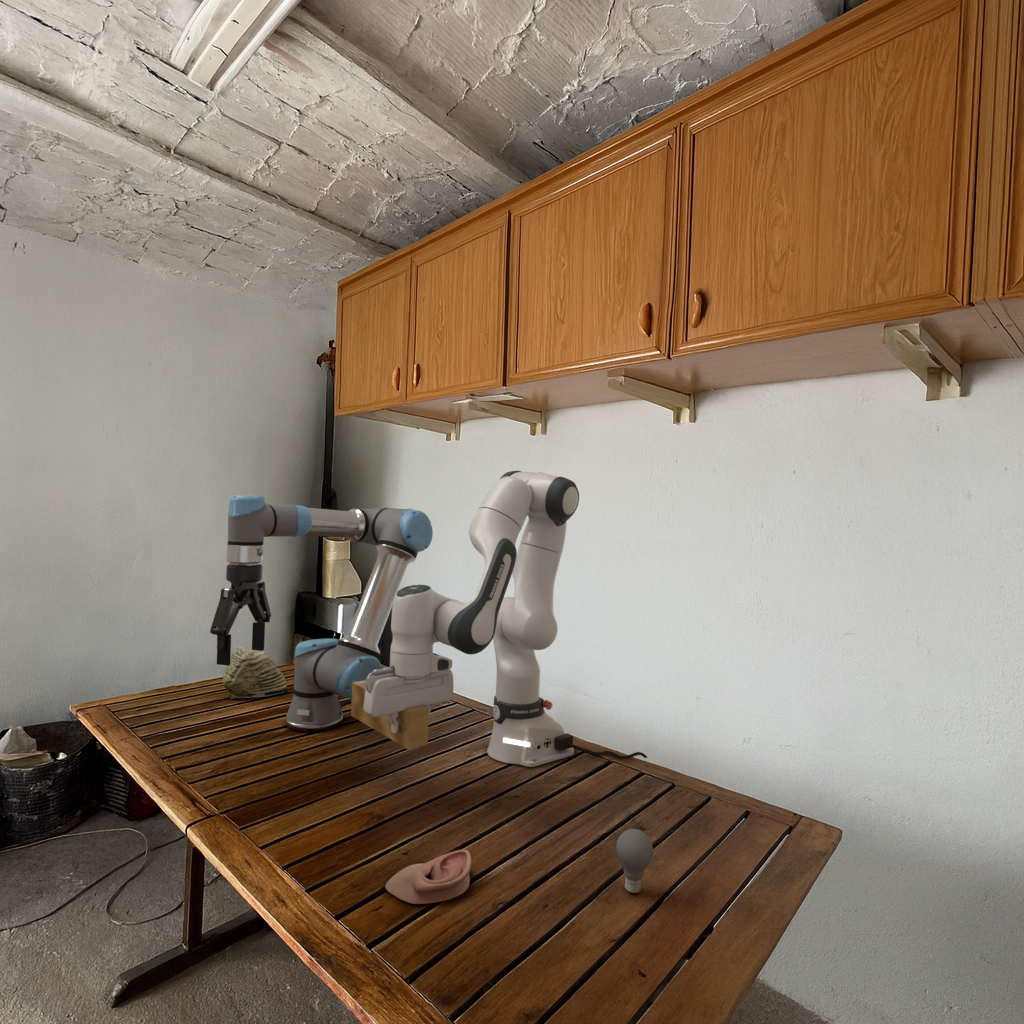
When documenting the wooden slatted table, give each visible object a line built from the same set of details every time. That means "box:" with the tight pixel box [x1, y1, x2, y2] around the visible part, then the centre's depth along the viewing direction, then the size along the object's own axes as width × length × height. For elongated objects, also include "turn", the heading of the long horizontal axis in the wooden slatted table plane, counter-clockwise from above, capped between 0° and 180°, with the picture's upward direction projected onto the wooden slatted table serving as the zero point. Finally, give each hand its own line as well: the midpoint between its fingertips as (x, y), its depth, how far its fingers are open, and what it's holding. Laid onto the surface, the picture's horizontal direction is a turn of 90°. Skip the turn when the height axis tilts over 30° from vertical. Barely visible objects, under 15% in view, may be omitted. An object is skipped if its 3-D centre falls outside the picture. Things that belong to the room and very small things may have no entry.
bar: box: [350, 680, 430, 751], centre depth 139 cm, size 24×5×8 cm, turn 42°
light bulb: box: [615, 828, 654, 894], centre depth 106 cm, size 6×6×10 cm
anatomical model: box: [385, 849, 472, 905], centre depth 105 cm, size 13×4×12 cm
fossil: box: [222, 646, 288, 699], centre depth 198 cm, size 9×18×15 cm, turn 132°
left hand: (241, 657), depth 143 cm, fingers open, 13 cm apart
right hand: (408, 728), depth 133 cm, fingers closed on bar, 5 cm apart
